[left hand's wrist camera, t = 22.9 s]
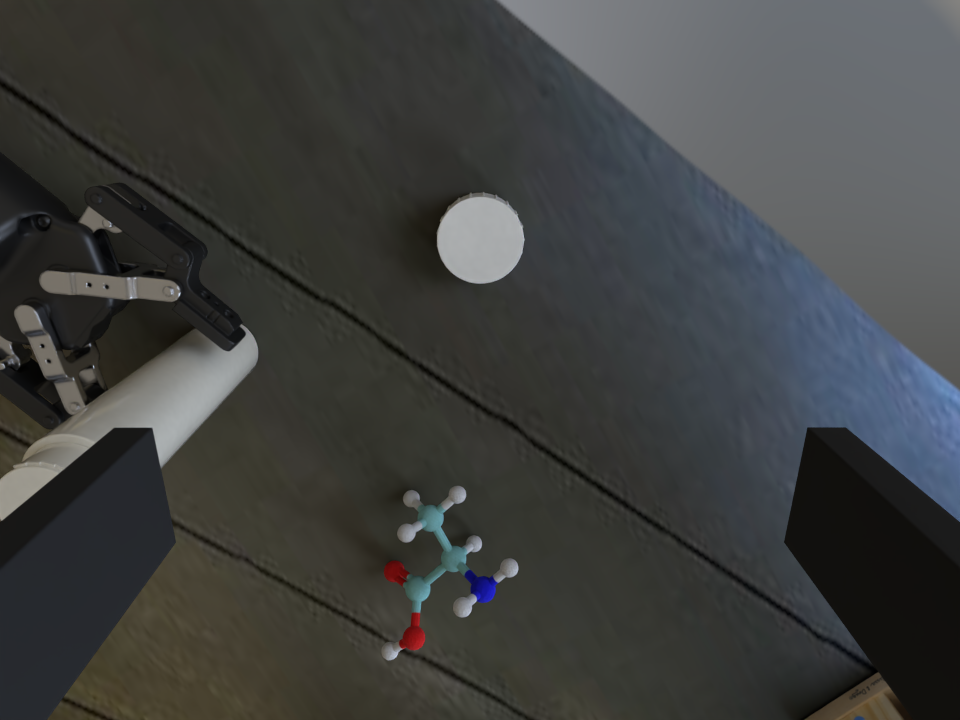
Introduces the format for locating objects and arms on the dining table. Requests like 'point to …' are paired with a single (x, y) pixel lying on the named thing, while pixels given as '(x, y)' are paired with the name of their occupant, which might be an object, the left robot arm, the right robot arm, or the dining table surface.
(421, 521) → the molecular model
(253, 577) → the dining table surface
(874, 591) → the left robot arm
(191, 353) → the jar
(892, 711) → the pounding bench toy
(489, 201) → the lid
